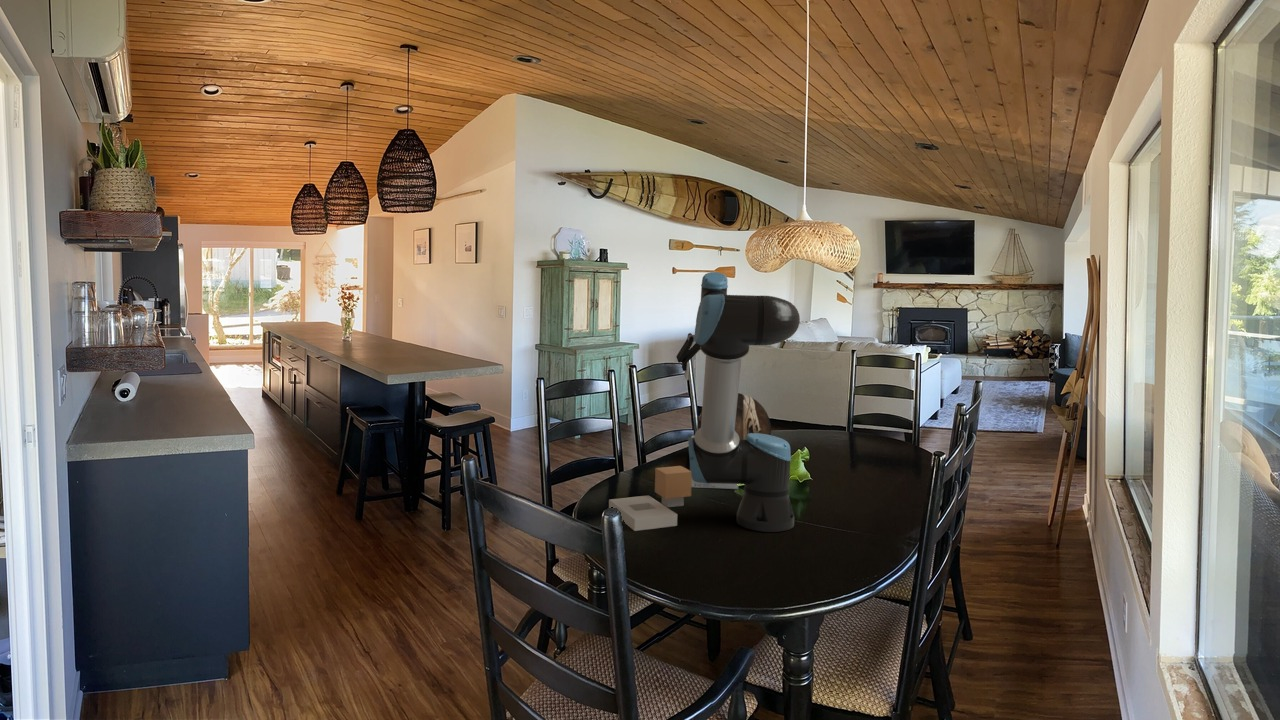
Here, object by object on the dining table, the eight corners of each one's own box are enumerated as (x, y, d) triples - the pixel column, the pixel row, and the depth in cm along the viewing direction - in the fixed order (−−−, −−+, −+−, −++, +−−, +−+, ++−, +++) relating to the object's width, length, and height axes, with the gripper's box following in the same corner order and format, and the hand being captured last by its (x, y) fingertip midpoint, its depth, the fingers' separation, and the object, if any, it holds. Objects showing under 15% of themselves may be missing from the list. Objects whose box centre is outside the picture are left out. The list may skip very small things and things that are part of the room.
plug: (690, 506, 216) (691, 471, 214) (665, 509, 212) (666, 474, 211) (679, 499, 222) (680, 465, 221) (654, 502, 219) (655, 468, 218)
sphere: (774, 475, 250) (777, 400, 247) (698, 473, 251) (700, 398, 248) (763, 457, 275) (766, 388, 272) (694, 455, 275) (696, 386, 273)
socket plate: (677, 525, 199) (677, 514, 199) (634, 530, 194) (634, 519, 194) (648, 505, 215) (648, 495, 215) (608, 510, 210) (609, 499, 210)
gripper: (747, 309, 236) (741, 364, 249) (668, 317, 232) (666, 372, 245) (755, 323, 230) (748, 378, 243) (673, 331, 226) (671, 386, 239)
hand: (707, 375), depth 244 cm, fingers open, 13 cm apart
